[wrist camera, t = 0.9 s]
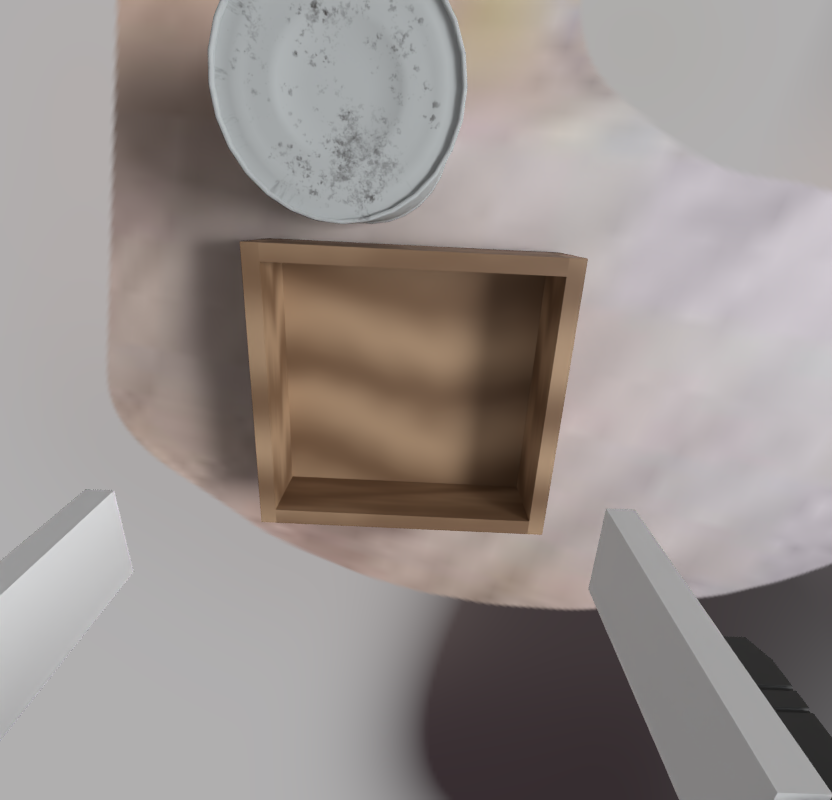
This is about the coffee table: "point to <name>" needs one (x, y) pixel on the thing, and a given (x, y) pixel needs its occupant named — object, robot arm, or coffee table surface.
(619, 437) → the coffee table surface
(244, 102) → the speckled white tin can
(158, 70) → the coffee table surface
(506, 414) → the walnut box
